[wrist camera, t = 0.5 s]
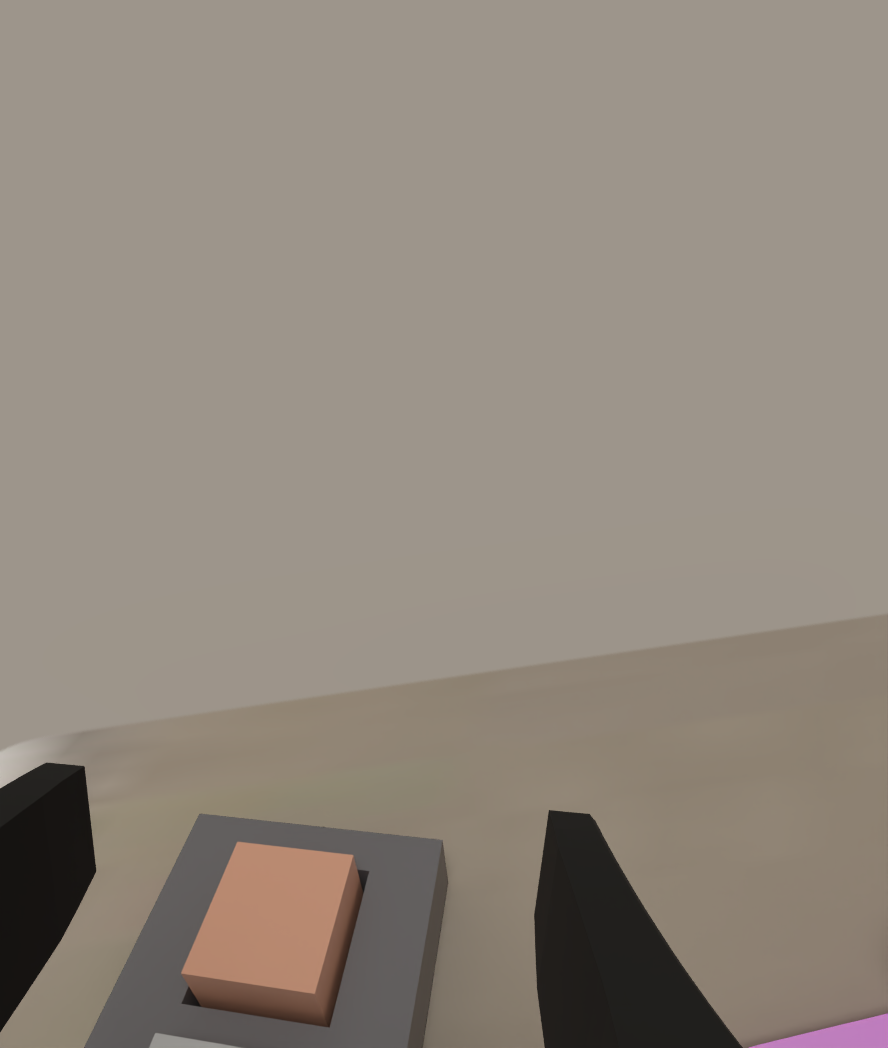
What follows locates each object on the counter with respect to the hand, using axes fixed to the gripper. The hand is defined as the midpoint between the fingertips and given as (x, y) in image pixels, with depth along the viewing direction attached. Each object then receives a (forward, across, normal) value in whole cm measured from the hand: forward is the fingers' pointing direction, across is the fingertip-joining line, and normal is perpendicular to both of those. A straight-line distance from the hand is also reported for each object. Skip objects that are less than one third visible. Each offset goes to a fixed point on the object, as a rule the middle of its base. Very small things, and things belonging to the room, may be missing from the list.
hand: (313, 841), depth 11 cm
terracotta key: (+10, +3, +14) cm, 18 cm away
